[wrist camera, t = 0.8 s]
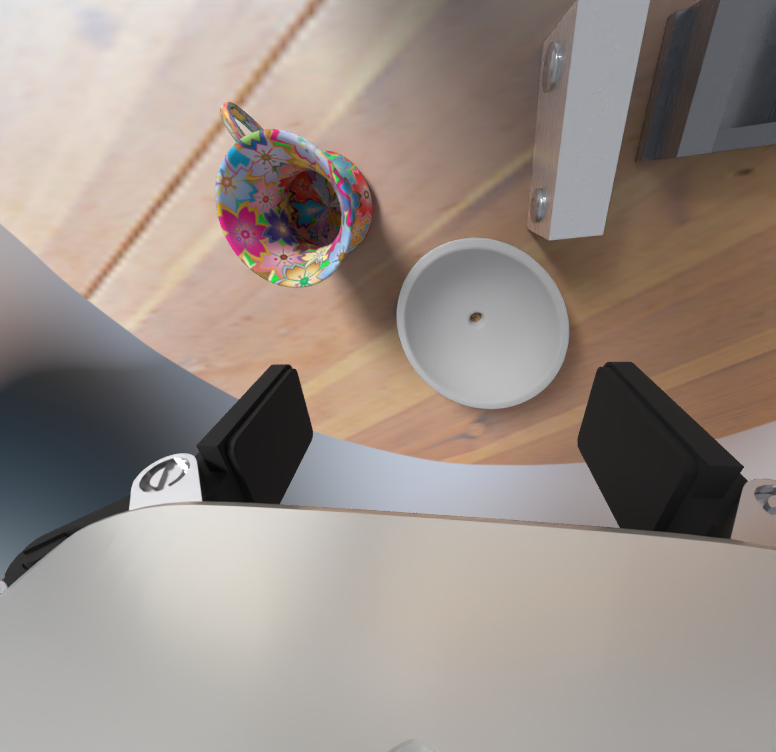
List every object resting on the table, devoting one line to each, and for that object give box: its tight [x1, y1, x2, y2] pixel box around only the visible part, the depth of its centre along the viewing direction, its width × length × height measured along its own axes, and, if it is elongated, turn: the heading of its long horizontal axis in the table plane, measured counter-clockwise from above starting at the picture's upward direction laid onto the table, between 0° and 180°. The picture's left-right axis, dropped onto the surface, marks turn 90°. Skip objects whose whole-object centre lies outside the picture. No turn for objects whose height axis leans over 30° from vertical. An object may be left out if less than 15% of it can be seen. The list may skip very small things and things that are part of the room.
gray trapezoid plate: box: [527, 0, 650, 240], centre depth 22 cm, size 12×4×7 cm, turn 7°
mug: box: [215, 102, 373, 288], centre depth 25 cm, size 12×9×11 cm
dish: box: [397, 238, 569, 409], centre depth 31 cm, size 18×14×5 cm
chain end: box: [635, 0, 776, 162], centre depth 21 cm, size 8×10×4 cm
